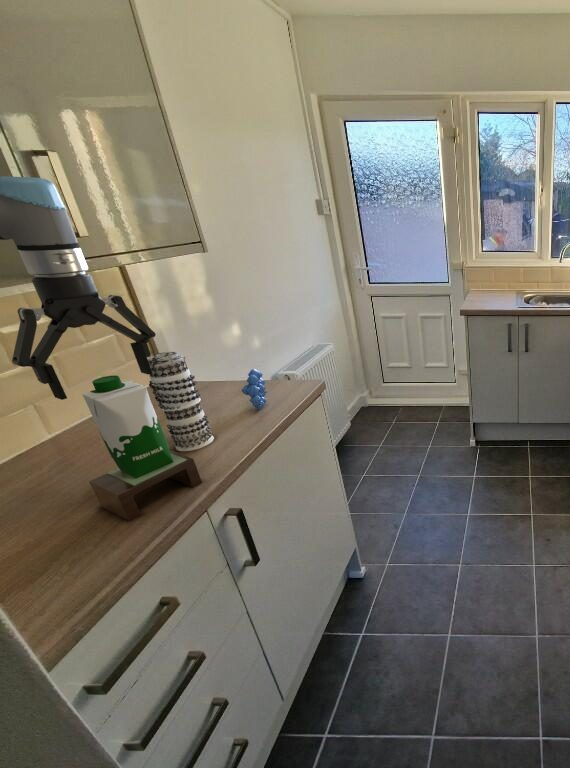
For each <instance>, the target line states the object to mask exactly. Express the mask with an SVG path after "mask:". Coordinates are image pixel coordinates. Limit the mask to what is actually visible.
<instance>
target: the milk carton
mask: <svg viewBox="0 0 570 768" xmlns="http://www.w3.org/2000/svg"><path fill="white" fill-rule="evenodd" d="M91 383H92V386H93V387H94V389H93V390H89V391H87V392H83V393H82V397H83V399H84V401H85V403H86V406H87V408H88V410H89V412H90V414H91V417H92V419H93V421H94V423H95V425H96V428H97V430H98V432H99V434H100V435H101V438H102V440H103V442H104V445H105V447H106V449H107V451H108V453H109V455H110V457H111V458H112V460H113V461H114V462H115V465H116V466H117V467H118V468H119V469H120V470H122V471H123V472H125V473H127V474H129V475H130V476H132V477H134V478H135V479H136V478H138V477H140V476H143V475H145V474H147V473H149V472H152V471H154V470H156V469H158V468H161V467H163V466H165V465H167V464H170V463H172V462H174V461H173V459H172V456H171V453H170V450H171V449H170V447H169V444H168V442H167V439H166V436H165V433H164V431H163V428H162V425H161V422H160V421H159V418H158V416H157V413H156V410H155V408H154V406H153V403H152V401H151V398H150V394H149V391H148V388H147V387H146V386H145V385H142V384H140V383H136V382H133V381H131V380H126V381H123V382H122V380H121V377H120V376H119V375H107V376H102V377H99V378H95V379H93V380H92V381H91Z"/></svg>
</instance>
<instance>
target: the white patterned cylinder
mask: <svg viewBox="0 0 570 768" xmlns="http://www.w3.org/2000/svg"><path fill="white" fill-rule="evenodd" d="M186 358H187V357H186V356H185V355H181V354H180V353H179V352H176V351H164V352H159V353H155V354H153V355H152V354H151V357H147V359H148V362H149V365H150V368H151V370H152V373H153V374H149V375H148V376H149V379H150V380H149V383H148V386H149V388H150V389H152V394H153V395H154V400H155V401H156V402H157V403H158V407H159V408H160V410H161V411H163V412H164V415H165V421H166V422H167V424H166V427H167V429H168V433H169V434H170V438H171V440H172V441H173V442H172V443H173V445H174V446H175V450H176V451H178V452H191V451H195V450H196V451H197V450H199V449H202V448H205V447H206V446H209V445H210V444H212V442H214V439H215V437H214V435H213V432H212V430H211V429H212V427H211V426H210V424H209V423H210V422H209V420H208V419H207V418H208V416H207V414H206V413H205V411H204V409H203V408H202V406H201V403H200V402H201V394H200V393H198V392H199V388H198V387H195V386H196V385H197V381H196V380H195V378H196V376H195V375H192V374H191V371H190V368H189V367H188V365H187V361H186Z"/></svg>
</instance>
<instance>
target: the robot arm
mask: <svg viewBox="0 0 570 768" xmlns="http://www.w3.org/2000/svg"><path fill="white" fill-rule="evenodd" d="M67 210H68V209H67V206H65V204H64V203H63V200H62V198H61V196H60V194H59V192H58V190H57V187H56V186H55V184H54V183H53V182H52V181H50V180H49V179H46V178H42V177H30V176H5V175H4V176H0V240H1V241H8V240H9V241H10V240H12V241H13V243H14V245H15V246H16V248H17V251H18V253H19V255H20V258H21V260H22V263H23V264H24V267H25V269H26V272H27V274H29V275H31V276H34V277H32V279H31V283H32V285H33V287H34V289H35V291H36V293H37V296H38V298H39V301H40V302H41V307H33V308H26V307H19V308H18V309H17V314H18V318H19V321H20V322H19V327H18V331H17V336H16V340H15V345H14V349H13V350H14V351H13V354H12V357H11V358H12V359H11V363H12V364H13V365H16V366H18V367H21V368H23V367H24V368H26V367H29V368H32V372H34V375H35V377H36V379H37V381H38V382H39V383H41V384H43V385H47V384H48V386H49V388H50V391H51V392H52V394H53V396H54V398H55V399H58V400H61V401H63V400H67V399H68V396H67V394H66V391H65V390H64V388H63V385H62V383H61V381H60V379H59V377H58V375H57V372H56V371H55V369H54V366H53V365H52V364H50V363H47V361H48V359H49V358H50V356H51V354H52V352H53V351H54V350H55V348H56V346H57V344H58V343H59V341H60V339H61V338H62V336H63V334H64V333H66V331H67V330H68V328H71V329H77V328H81V327H84V326H94V325H96V324H97V323H101V324H103V325H105V326H106V327H109V328H110V329H112V330H114V331H116V332H118V333H119V334H121V335H123V336H124V337H127V338H129V339H130V340H132V341H133V342H130V343H129V344H130V347H131V349H132V352H133V355H134V357H135V360H136V362H137V365H138V368H139V371H140V373H141V374H144V375H148V376H149V375H150V374H153V373H152V370H151V368H150V365H149V362H148V358H149V357H151V356H152V354H151V350H150V347H149V345H148V343H149V342H150V339H152V338H155V337H156V332H155V331H153V330H152V328H150V327H149V325H148V324H146V323H145V322H144V321H143V320H142V319H141V318H140V317H138V316H137V314H135V313H134V312H133V310H131V309H130V308H129V307H128V306H127V305H126V302H125V301H124V299H123V297H122V296H120V295H115V294H109V295H108V296H106V297H103V298H101V297H100V295H99V292H98V289H97V287H96V284H95V281H94V279H93V276H92V275H91V274H90V273H87V271H88V270H89V266H88V264H87V260H86V259H85V256H84V254H83V251H82V248H81V246H80V244H79V242H78V239H77V236H76V233H75V231H74V228H73V226H72V222H71V219H70V217H69V214H68V211H67ZM106 305H107V306H108V307H109V308H110V309H114V310H115V311H116V312H117V313H118V314H119V315H120V316H121V317H122V318H123V319H124V320H125V321H126V322H128V323H129V324H130V325H131V326H132V327H133V328H135V330H137V331H138V332H139V333H138V332H137V331H135V330H133V329H131V328H129V327H127V326H125V325H124V324H122V323H120V322H119V321H117V320H115V319H113V318H112V317H110V316H109V315H108V314H105V313H103V312H104V310H105V308H106ZM43 315H44V316H46V317H48V318H49V319H51V320H50V321H49V323H48V325H47V329H46V330H45V332H44V334H43V336H42V337H41V339H40V340H39V342H38V344H37V346H36V347H35V349H34V351H32V350H33V346H34V340H35V336H36V332H37V327H38V321H41V319H42V318H41V317H42V316H43Z"/></svg>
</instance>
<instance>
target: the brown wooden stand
mask: <svg viewBox="0 0 570 768" xmlns="http://www.w3.org/2000/svg"><path fill="white" fill-rule="evenodd" d="M169 450H170V453H171V456H172V459H173V461H174V462H172V463H170V464H167V465H165V466H163V467H161V468H158V469H156V470H154V471H152V472H149V473H147V474H145V475H143V476H140V477H138V478H136V479H135V478H134V477H132V476H130V475H129V474H127V473H125V472H123V471H122V470H120V469H119V467H118V468H116V469H114V470H111V471H109V472H107V473H105V474H102V475H100V476H97V477H96V478H93V479H91V480H88V483H89V485H90V487H91V489H92V491H93V492H94V495H95V497H96V499H97V500H98V503H99V505H100V507H102V508H104V509H105V510H107V511H109V512H111V513H113V514H116V515H117V516H119V517H120V518H123V519H124V520H127V521H129V522H131V521H133V520H135V519H137V518H139V517H140V516H142V513H141V511H140V509H139V507H138V505H137V502H136V500H135V499H134V495H135V494H138V493H140V492H141V491H144V490H146V489H148V488H150V487H152V486H154V485H156V484H159V483H160V482H163V481H164V480H166V479H168V478H170V479H172V480H175V481H177V482H179V483H182V484H184V485H187V486H189V487H192V488H195V487H196V486H198V485H200V484H201V483H203V481H202V478H201V476H200V473H199V471H198V468H197V465H196V461H195V460H194V457H190V456H188V455H186V454H182V453H179V452H177V451H174V450H171V449H169Z"/></svg>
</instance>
